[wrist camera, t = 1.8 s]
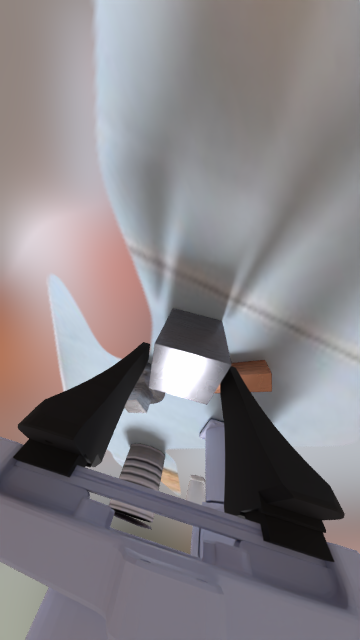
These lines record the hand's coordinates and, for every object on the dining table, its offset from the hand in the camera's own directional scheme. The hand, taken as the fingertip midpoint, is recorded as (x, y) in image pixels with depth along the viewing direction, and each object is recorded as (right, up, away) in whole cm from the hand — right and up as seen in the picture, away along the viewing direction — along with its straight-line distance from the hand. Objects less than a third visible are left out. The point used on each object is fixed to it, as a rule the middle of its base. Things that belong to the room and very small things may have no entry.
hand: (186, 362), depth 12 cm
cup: (+6, -49, +32) cm, 59 cm away
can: (-10, -36, +28) cm, 47 cm away
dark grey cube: (+1, +2, +4) cm, 4 cm away
